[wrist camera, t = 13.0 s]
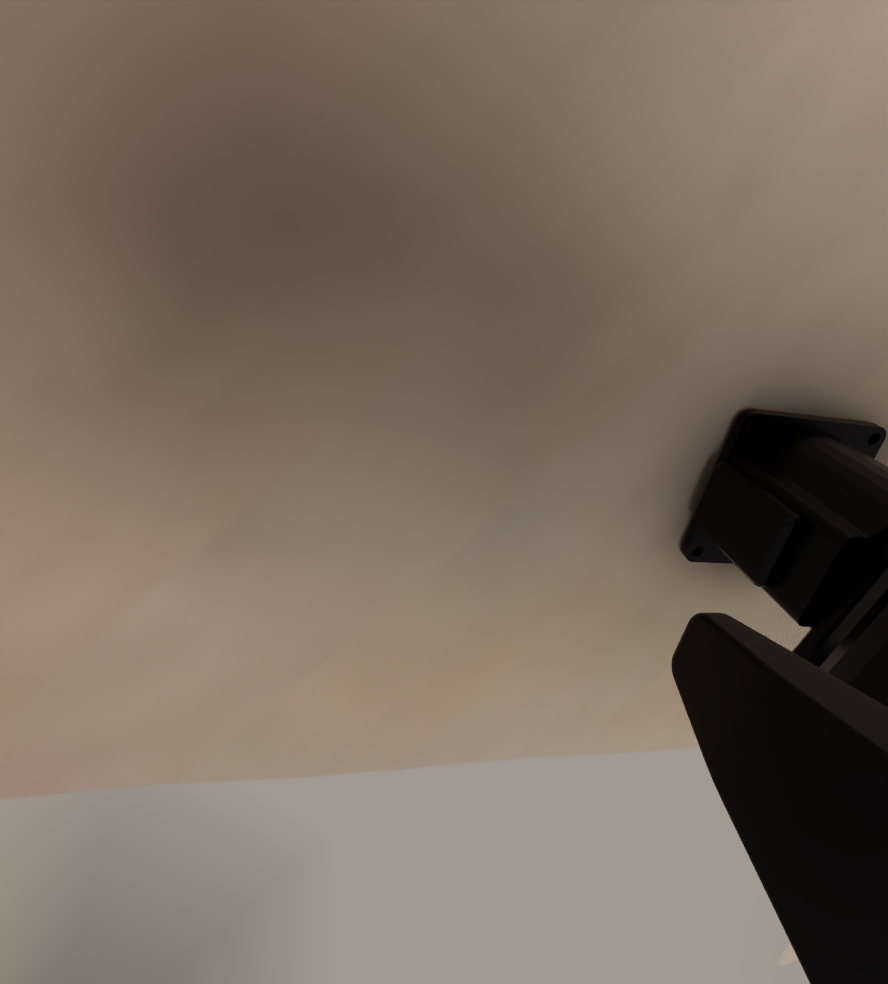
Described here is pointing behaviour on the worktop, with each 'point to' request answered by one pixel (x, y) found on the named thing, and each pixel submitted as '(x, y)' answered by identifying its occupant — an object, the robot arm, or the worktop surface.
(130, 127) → the worktop surface
